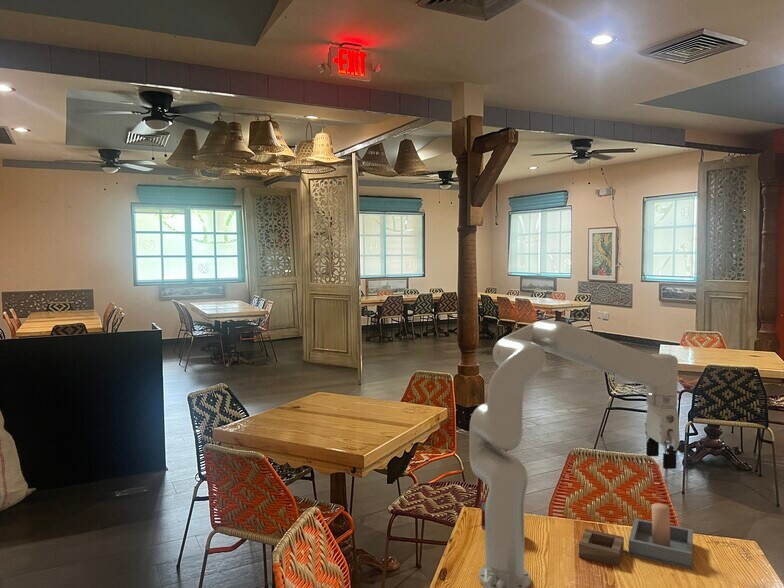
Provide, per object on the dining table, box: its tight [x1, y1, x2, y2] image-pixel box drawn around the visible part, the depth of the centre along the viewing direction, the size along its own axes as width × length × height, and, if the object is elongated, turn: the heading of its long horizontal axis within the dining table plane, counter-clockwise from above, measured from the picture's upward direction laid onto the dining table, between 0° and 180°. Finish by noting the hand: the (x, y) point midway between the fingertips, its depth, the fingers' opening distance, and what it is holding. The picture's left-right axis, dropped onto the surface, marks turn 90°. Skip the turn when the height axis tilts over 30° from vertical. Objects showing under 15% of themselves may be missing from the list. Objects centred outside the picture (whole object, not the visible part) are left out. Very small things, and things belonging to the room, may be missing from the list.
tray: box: [627, 517, 694, 570], centre depth 151 cm, size 15×15×4 cm
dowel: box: [651, 502, 671, 547], centre depth 151 cm, size 4×4×11 cm
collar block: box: [578, 528, 625, 567], centre depth 149 cm, size 10×10×4 cm
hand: (660, 461), depth 150 cm, fingers open, 9 cm apart
